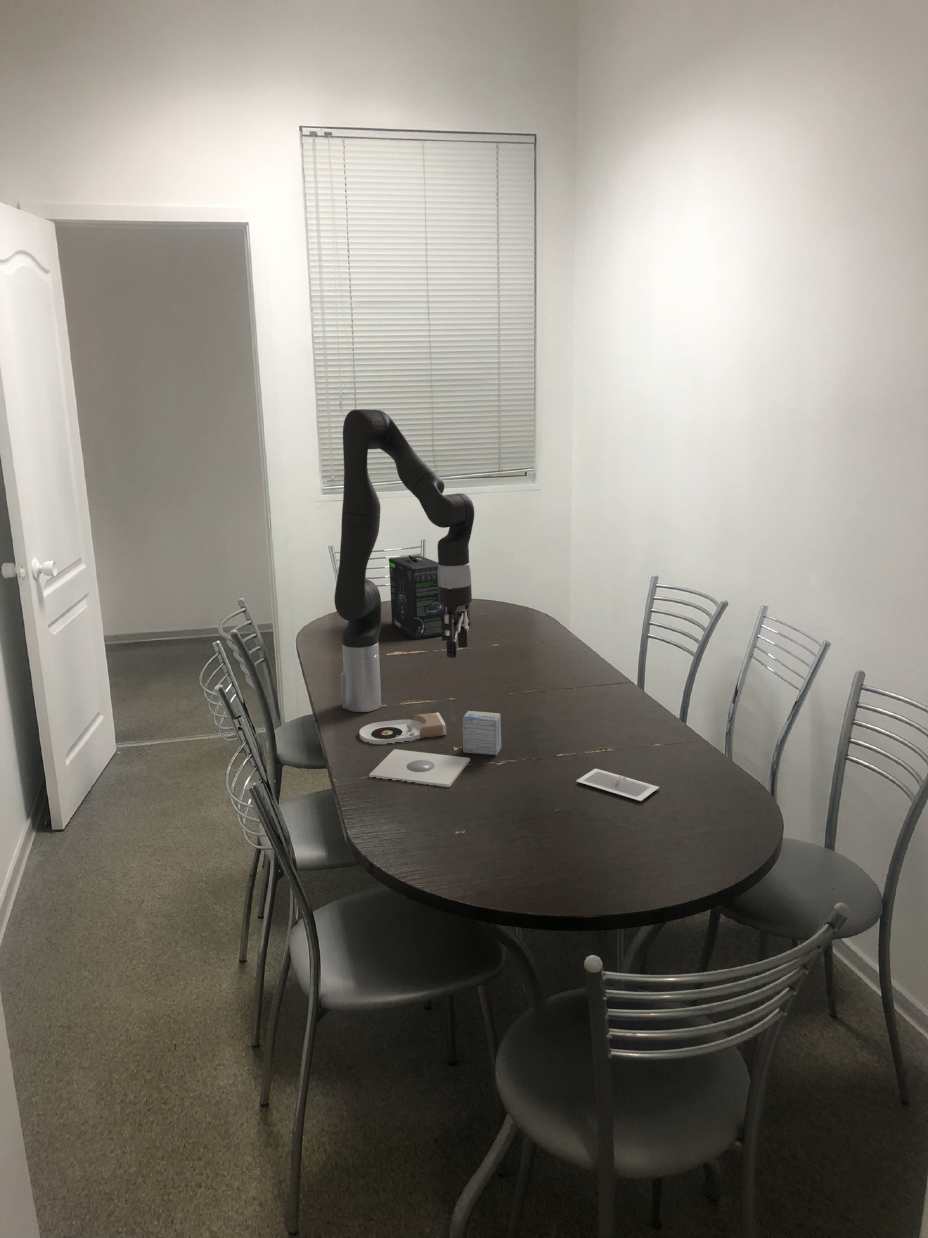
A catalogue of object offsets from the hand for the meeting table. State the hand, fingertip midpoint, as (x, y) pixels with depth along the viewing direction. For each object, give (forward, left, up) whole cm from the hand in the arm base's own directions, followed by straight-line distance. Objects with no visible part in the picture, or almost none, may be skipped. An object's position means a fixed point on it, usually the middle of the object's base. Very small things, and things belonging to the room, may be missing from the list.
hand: (457, 652), depth 201 cm
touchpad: (+40, -17, -21) cm, 48 cm away
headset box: (-43, +86, -21) cm, 99 cm away
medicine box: (+8, -7, -21) cm, 23 cm away
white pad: (-2, -20, -21) cm, 29 cm away
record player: (-14, -2, -21) cm, 26 cm away
